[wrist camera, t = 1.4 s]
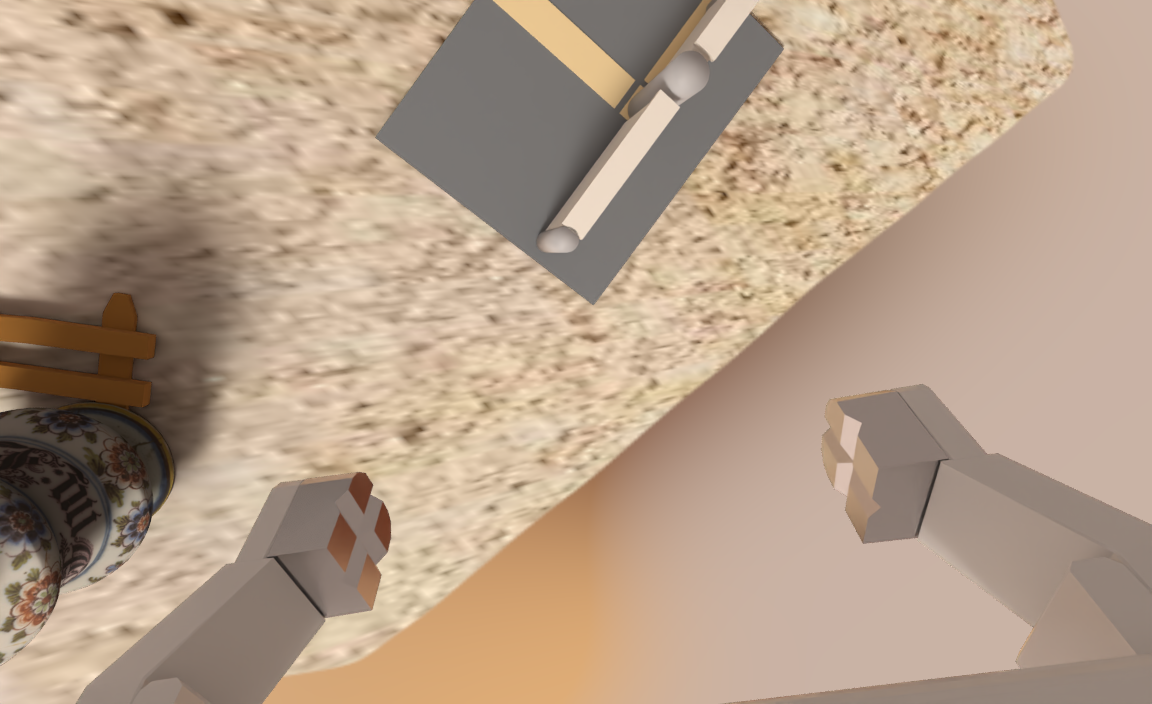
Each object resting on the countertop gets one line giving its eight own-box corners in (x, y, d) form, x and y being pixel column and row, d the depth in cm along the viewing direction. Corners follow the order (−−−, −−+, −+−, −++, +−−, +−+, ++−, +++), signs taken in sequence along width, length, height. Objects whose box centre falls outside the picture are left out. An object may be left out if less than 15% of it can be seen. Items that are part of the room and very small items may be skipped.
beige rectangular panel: (531, 243, 43) (548, 241, 34) (621, 121, 43) (660, 89, 34) (548, 256, 43) (568, 257, 35) (637, 135, 43) (680, 107, 35)
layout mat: (376, 138, 40) (375, 136, 40) (585, -151, 40) (586, -156, 39) (592, 304, 46) (594, 305, 45) (781, 50, 45) (784, 48, 44)
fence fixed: (619, 114, 43) (663, 74, 34) (708, -6, 43) (777, -81, 33) (643, 135, 44) (693, 102, 34) (730, 17, 44) (805, -50, 34)
